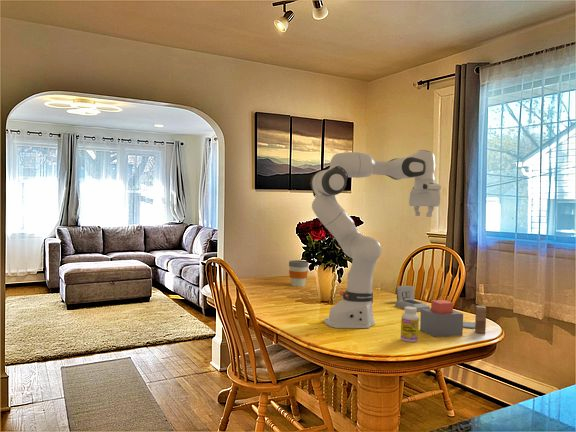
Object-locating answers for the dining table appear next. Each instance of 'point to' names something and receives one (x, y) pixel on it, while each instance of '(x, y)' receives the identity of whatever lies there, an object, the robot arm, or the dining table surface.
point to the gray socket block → (441, 323)
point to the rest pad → (469, 325)
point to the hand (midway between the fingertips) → (423, 216)
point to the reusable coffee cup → (298, 272)
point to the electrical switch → (405, 292)
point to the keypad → (411, 304)
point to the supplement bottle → (409, 325)
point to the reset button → (441, 306)
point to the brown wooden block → (480, 319)
